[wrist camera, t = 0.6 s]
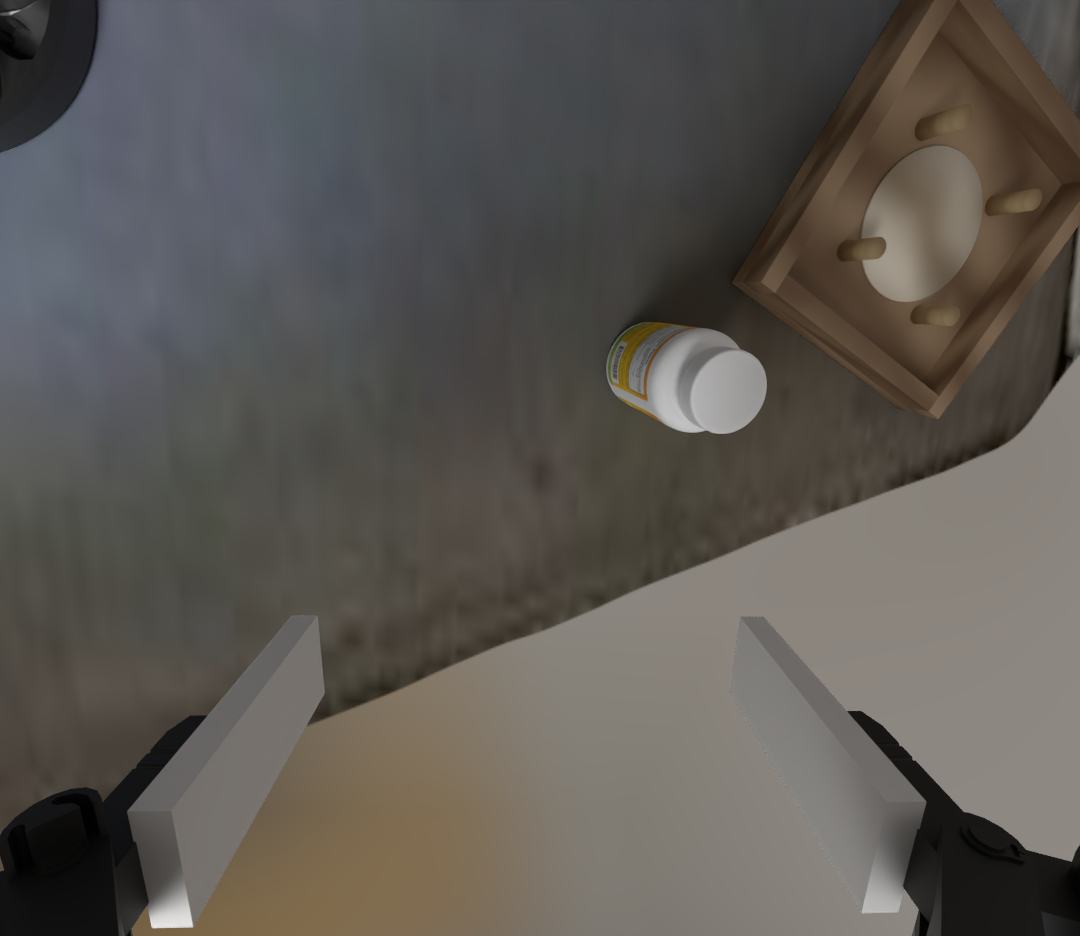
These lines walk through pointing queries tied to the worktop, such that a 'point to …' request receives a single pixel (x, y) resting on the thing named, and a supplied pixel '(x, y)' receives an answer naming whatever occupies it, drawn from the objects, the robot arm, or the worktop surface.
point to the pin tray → (924, 205)
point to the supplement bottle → (686, 377)
